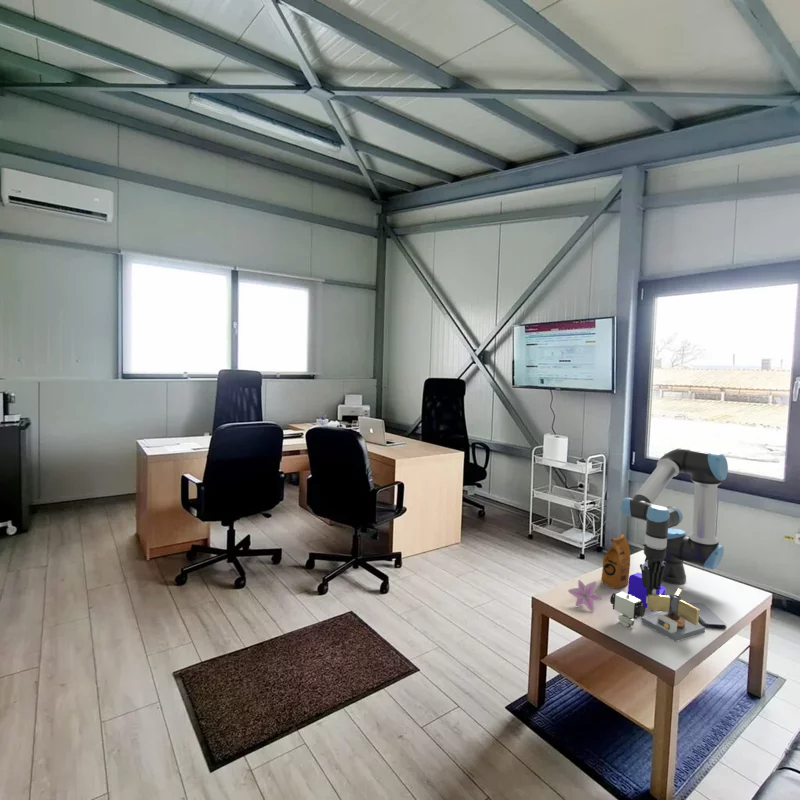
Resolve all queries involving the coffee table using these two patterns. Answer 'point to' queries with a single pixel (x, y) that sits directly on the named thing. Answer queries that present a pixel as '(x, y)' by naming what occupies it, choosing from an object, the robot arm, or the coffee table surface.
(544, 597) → the coffee table surface
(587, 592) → the lily
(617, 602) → the pneumatic valve
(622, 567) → the coffee package
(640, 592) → the bracket
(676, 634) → the level stand
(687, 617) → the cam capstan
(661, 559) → the robot arm
